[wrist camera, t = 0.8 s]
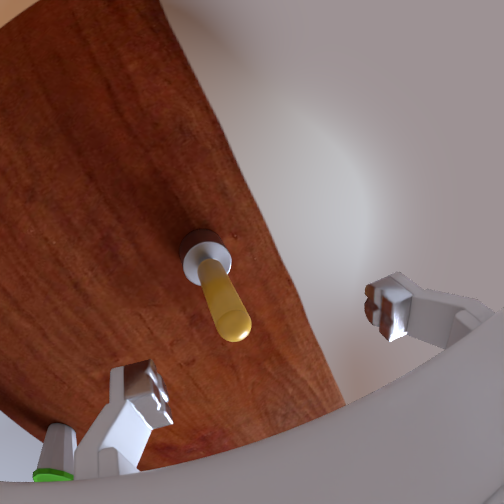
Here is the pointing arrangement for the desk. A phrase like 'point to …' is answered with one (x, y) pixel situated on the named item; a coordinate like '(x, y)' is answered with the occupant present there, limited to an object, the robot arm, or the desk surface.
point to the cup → (57, 455)
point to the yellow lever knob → (215, 282)
